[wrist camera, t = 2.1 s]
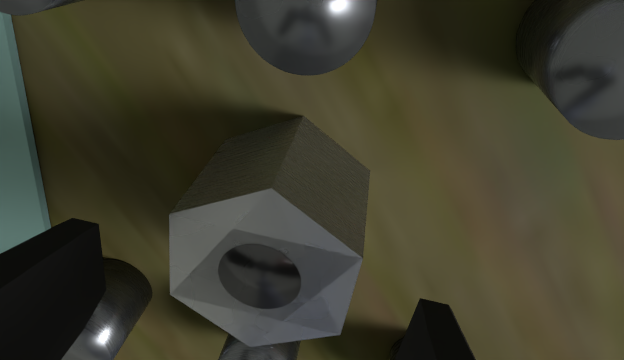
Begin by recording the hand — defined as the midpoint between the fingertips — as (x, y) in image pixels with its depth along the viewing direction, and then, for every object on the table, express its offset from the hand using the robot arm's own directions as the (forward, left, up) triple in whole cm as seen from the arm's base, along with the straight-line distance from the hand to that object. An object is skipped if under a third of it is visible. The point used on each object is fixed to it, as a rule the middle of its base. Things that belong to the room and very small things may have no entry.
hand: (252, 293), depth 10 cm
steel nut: (0, 0, -5) cm, 5 cm away
